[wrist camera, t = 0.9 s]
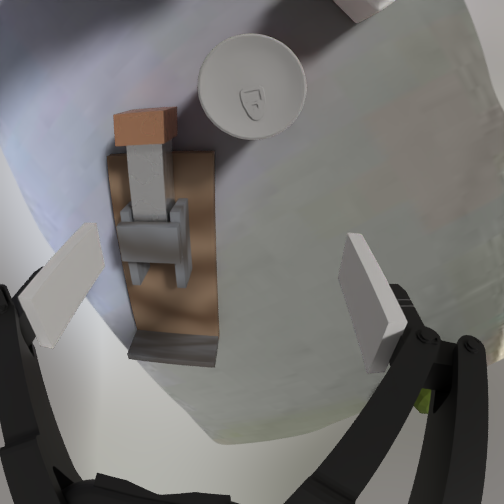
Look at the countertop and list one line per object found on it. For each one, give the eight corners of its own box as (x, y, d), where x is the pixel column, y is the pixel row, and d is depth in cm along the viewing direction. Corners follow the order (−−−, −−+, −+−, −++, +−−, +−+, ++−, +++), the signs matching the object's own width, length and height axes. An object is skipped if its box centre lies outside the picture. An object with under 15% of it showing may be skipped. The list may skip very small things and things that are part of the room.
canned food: (239, 135, 32) (229, 159, 22) (202, 71, 29) (176, 65, 19) (305, 104, 30) (327, 113, 21) (270, 38, 27) (275, 15, 17)
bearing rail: (111, 154, 33) (83, 169, 27) (214, 150, 33) (204, 166, 27) (140, 329, 46) (128, 360, 40) (219, 335, 46) (214, 369, 40)
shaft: (132, 109, 29) (113, 114, 25) (176, 106, 29) (163, 110, 25) (143, 239, 37) (130, 260, 32) (182, 240, 36) (173, 262, 32)
